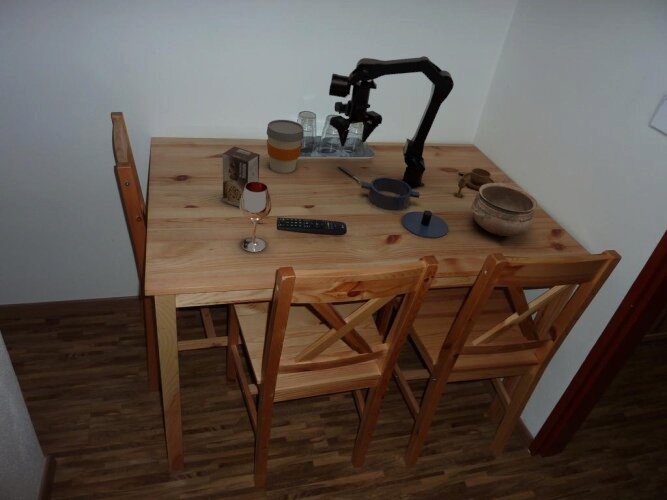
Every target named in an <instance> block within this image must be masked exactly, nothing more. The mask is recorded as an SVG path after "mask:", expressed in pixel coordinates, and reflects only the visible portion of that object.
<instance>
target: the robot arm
mask: <svg viewBox="0 0 667 500" xmlns="http://www.w3.org/2000/svg"><path fill="white" fill-rule="evenodd" d="M413 73H422V74H423V75H424V76H425V77H426V78H427V79H428V80H429V82H431V89H430V96H429V99H428V101H427V104H426V106H425V109H424V111H423V112H422V116H421V118H420V121H419V123H418V126H417V128H416V130H415V133H414V135H413V136H412V137H411V139H409V138H406V141H405V144H404V146H403V147H402V156H403V160H404V163H405V165H406V167H405V170H404V173H403V177H402V178H401V179H399V180H402V181H404V182H405V183H407V184H408V185H409V186H410V187H411V189H412V190H413V189H416V188H420V187H424V185H425V183H423V182H422V180H423V175H424V173H425V171H426V164H425V158H424V157H423V153H424V148H425V143H426V140H427V139H428V135H429V134H430V132H431V128H432V126H433V124H434V122H435V119H436V117H437V114H438V112H439V110H440V109H441V105H442V104H443V103H444V102H445V100H447V98H448V97H449V95H450V94H451V92H452V90H453V88H454V87H455V86H454V84H455V82H454V79H453V77H452V75H451V73H450V72H449V71H448V70H442V69H441V68H440V67H439V66H438V65H437V64H435V63H434V62H433V61H431V60H430V58H429V56H424V55H423V56H420V57H411V58H409V57H408V58H399V59H388V60H381V59H377V58H370V57H363V58H360V59H359V60H358V61H357V63H356V65H355V68H354V69H353V70H352V71H351V72H350V73H349V75H342V74H338V73H332V75H331V80H330V84H329V90H328V96H331V97H339V98H344V99H346V98H347V97H348V96H350V95H351V97H350V100H347V102H345V103H343V101H335V103H334V107H333V108H334V111H335V113H338V115H335V116H331V118H329V126H331V127H333V128H334V129H336V131H337V134H338V138H339V142H340V146H341V147H342V148H344V147H345V145H346V143H347V139H348V136H349V134H350V129H349V128H351V127H350V126H351V125H353V124H359V123H362V125H363V127H362V134H361V142H362V143H363V144H364V143H365V142H367V140H368V139H369V138H370V136H371V134H372V133H373V132H374V131H375V130H376V129H377V127H379V126H380V125H381V124H382V122H383V116H382V114H380V113H378V112H376V111H374V110H368V109H370V108H371V104H370V103H369V100H370V94H371V90H377V88H378V87H377V86H378V84H377V83H376V82H375V80H376V79H378V78H381V77H385V76H390V75H391V76H392V75H401V74H402V75H403V74H413ZM351 89H352V90H351ZM341 114H344V116H345V117H347V118H345V117H344V116H342V115H341Z"/></svg>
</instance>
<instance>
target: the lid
mask: <svg viewBox="0 0 667 500" xmlns="http://www.w3.org/2000/svg"><path fill="white" fill-rule="evenodd" d="M401 224H402V227H404V229H405V230H407V231H408V232H409V233H411V234H413V235H416V236H418V237H422V238H424V239H438V238H439V239H440V238H443V237H445V236H446V235H447V234H448V232H449V225H448V224H447V222H446V221H445V220H444V219H443V218H441V217H439V216H437V215H435V214H433V212H432V211H430V210H423V211H420V210H419V211H417V210H415V211H408V212H406V213H405V214H403V216H402V218H401Z"/></svg>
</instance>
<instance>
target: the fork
mask: <svg viewBox="0 0 667 500" xmlns="http://www.w3.org/2000/svg"><path fill="white" fill-rule="evenodd" d="M337 168H338V169H339V170H340V171H342V172H343V173H345V174H346V175H347V176H348V177H351V178H352V179H354V180H355V181H357V184H359V185H360V184H361V182H362V180H361V179H359V178H358V177H357V176H355V174H354V173H352V172H351V171H349V170H348V169H347V168H345V167H343V166H342V165H340V166H338V167H337Z"/></svg>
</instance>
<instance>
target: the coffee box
mask: <svg viewBox="0 0 667 500" xmlns="http://www.w3.org/2000/svg"><path fill="white" fill-rule="evenodd" d="M260 157H261V154H260V153H256V152H254V151H250V150H247V149H245V148H241V147H238V146H232V147H231V148H229V149H228V150H226V151H224V152H222V202H224V203H226V204H229V205H232V206H235V207H238V208H240V207H239V204H240V199H241V196H242V193H243V190H244V187H245V185H246V184H247V183H249V182H260V159H261V158H260Z"/></svg>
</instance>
